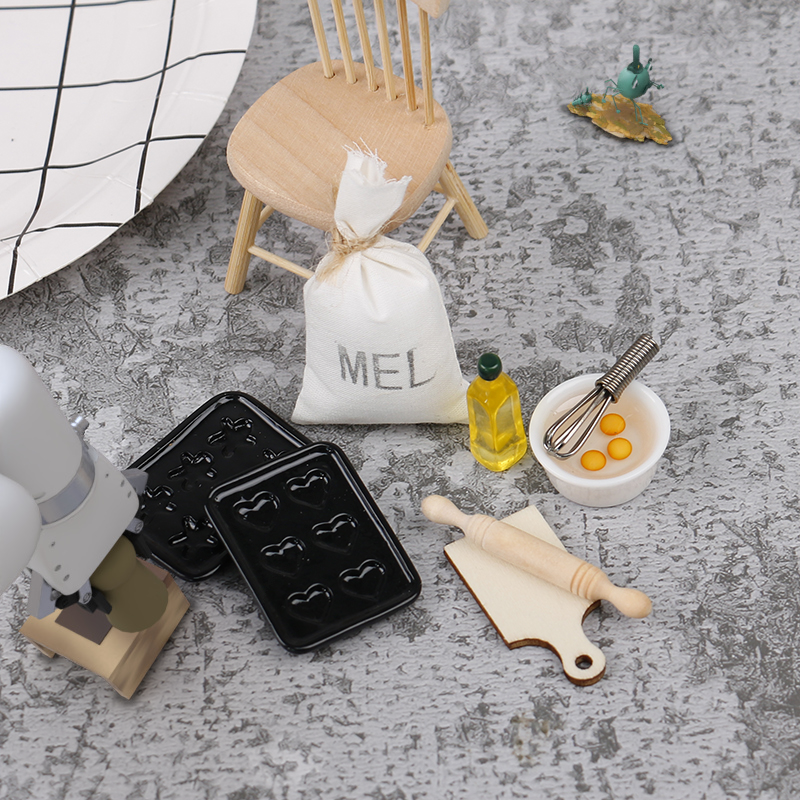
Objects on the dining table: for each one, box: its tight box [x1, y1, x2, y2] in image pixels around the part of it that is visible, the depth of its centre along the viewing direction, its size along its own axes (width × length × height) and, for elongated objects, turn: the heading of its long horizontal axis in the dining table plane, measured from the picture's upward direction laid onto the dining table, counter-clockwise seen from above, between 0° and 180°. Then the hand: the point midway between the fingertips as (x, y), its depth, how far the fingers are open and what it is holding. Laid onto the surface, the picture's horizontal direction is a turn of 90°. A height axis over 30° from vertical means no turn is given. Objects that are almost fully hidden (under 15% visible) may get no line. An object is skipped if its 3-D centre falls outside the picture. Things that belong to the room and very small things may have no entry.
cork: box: [89, 535, 168, 633], centre depth 85 cm, size 6×6×11 cm
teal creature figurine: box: [566, 43, 673, 145], centre depth 144 cm, size 10×18×15 cm, turn 49°
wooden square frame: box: [18, 556, 191, 700], centre depth 103 cm, size 12×12×9 cm
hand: (117, 576), depth 85 cm, fingers closed on cork, 5 cm apart
